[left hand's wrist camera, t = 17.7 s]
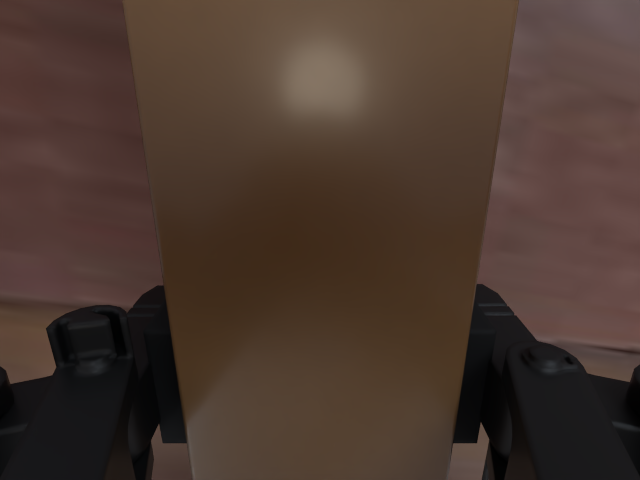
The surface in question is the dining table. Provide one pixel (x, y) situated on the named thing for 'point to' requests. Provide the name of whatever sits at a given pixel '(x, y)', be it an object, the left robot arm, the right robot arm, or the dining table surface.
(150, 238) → the dining table surface
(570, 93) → the dining table surface
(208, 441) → the beam
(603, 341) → the dining table surface
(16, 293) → the dining table surface
